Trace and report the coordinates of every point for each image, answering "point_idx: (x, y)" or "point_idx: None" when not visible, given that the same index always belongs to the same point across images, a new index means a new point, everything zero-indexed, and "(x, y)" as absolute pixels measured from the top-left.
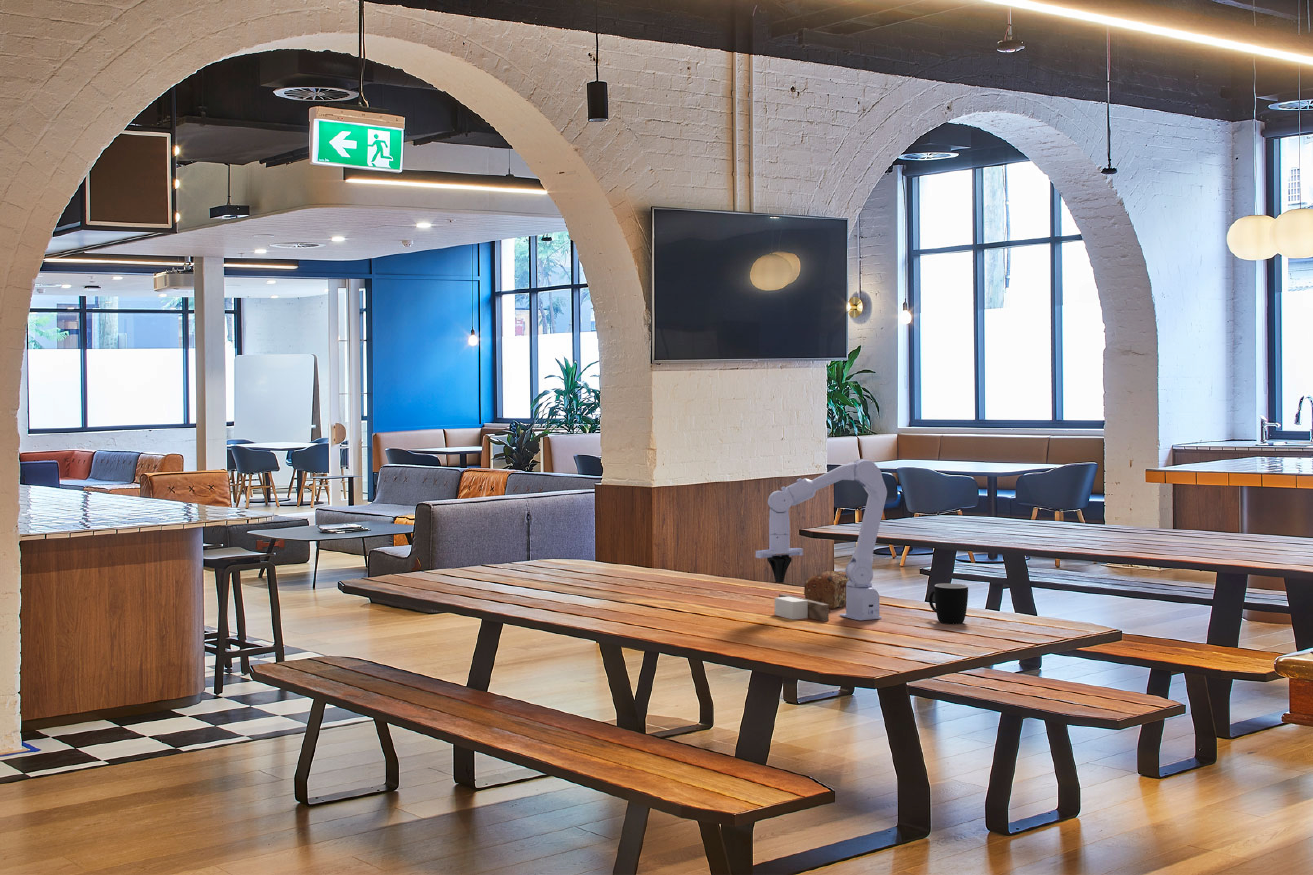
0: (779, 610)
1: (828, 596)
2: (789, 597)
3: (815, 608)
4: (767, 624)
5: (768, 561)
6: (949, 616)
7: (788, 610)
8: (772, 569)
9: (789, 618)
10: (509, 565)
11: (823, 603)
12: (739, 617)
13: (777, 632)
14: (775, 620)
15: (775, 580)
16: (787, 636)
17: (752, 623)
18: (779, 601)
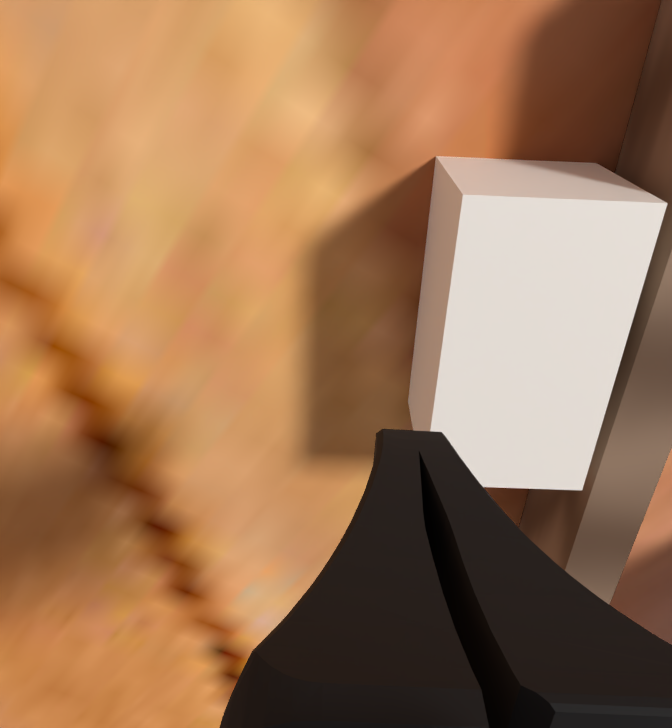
0: (433, 247)
1: None
2: (610, 261)
3: (557, 526)
4: (137, 463)
5: (267, 640)
6: None
7: (419, 384)
8: (342, 543)
9: (413, 364)
10: None
11: (610, 585)
12: (65, 114)
13: (74, 645)
14: (271, 376)
15: (377, 445)
16: (74, 717)
17: (54, 393)
18: (444, 278)
